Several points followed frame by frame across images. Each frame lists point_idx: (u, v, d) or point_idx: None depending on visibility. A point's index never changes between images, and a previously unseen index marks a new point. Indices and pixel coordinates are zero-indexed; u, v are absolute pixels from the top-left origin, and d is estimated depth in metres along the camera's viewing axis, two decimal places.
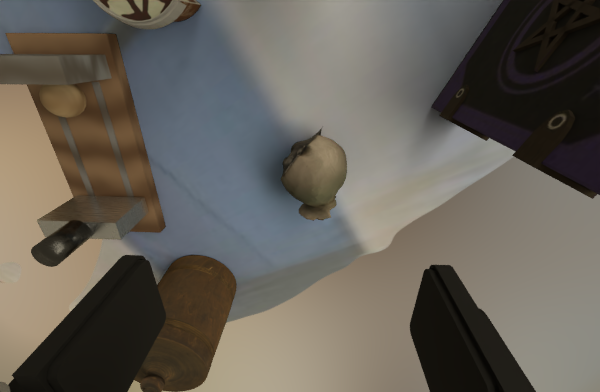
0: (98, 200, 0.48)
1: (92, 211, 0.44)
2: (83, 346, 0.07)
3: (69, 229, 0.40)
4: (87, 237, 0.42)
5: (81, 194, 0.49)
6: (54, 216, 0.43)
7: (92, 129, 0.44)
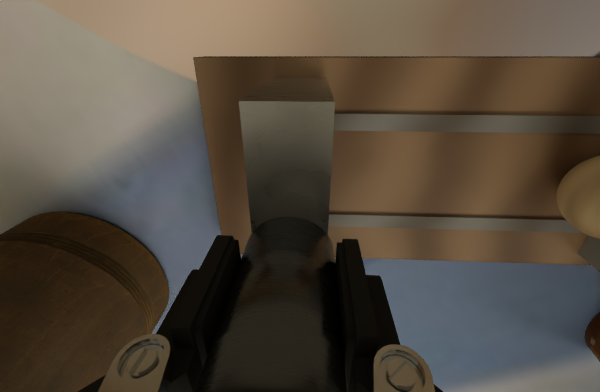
0: None
1: None
2: (212, 308, 0.08)
3: None
4: None
5: None
6: None
7: (498, 185, 0.19)
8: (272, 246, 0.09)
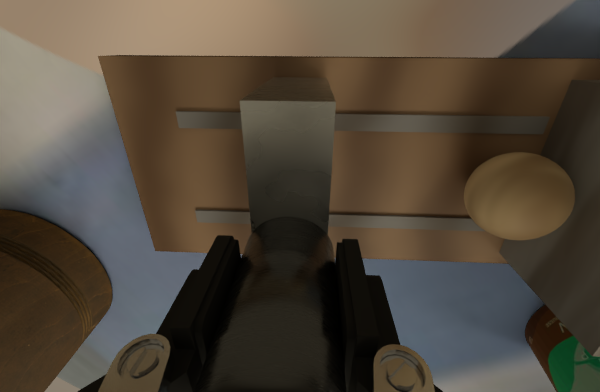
0: None
1: None
2: (212, 308, 0.08)
3: None
4: None
5: (231, 87, 0.17)
6: None
7: (412, 184, 0.19)
8: (272, 246, 0.09)
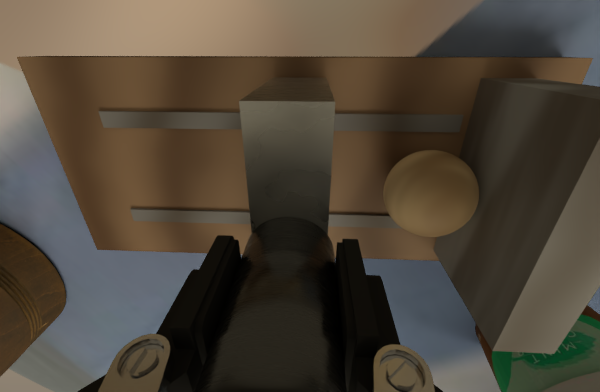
0: None
1: None
2: (212, 308, 0.08)
3: None
4: None
5: (150, 87, 0.17)
6: None
7: (339, 182, 0.19)
8: (272, 246, 0.09)
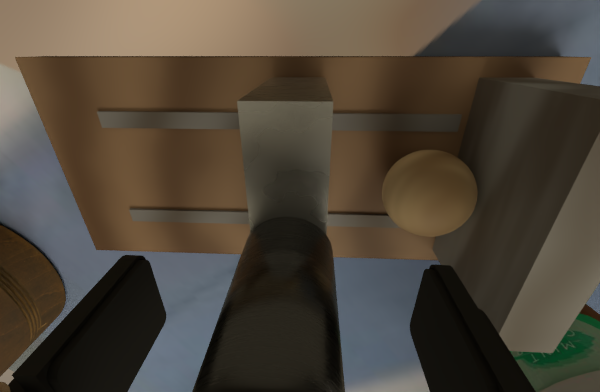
0: None
1: None
2: (83, 346, 0.07)
3: None
4: None
5: (149, 87, 0.17)
6: None
7: (338, 182, 0.19)
8: (271, 246, 0.09)
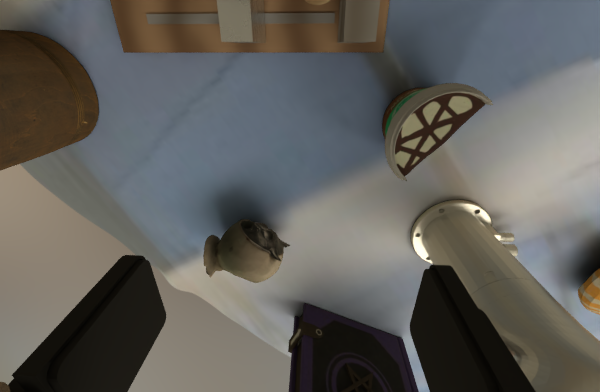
0: None
1: None
2: (83, 346, 0.07)
3: None
4: None
5: None
6: None
7: None
8: None
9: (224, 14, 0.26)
